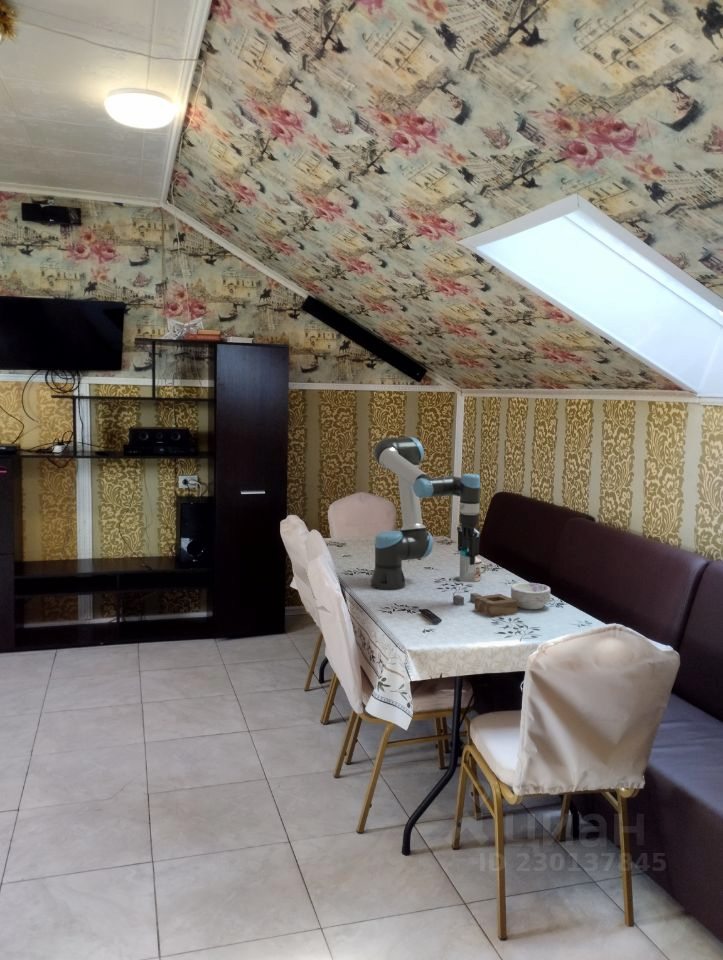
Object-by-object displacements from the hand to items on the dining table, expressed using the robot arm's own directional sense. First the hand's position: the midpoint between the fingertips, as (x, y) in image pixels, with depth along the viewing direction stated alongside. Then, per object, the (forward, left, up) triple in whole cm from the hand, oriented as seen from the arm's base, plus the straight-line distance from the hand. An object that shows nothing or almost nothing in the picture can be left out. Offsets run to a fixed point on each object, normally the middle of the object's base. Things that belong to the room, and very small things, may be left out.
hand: (467, 571), depth 302 cm
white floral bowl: (+15, +20, -13) cm, 28 cm away
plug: (0, 0, -4) cm, 4 cm away
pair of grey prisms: (0, 0, -13) cm, 13 cm away
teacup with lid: (-31, +25, -13) cm, 42 cm away
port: (+15, +3, -13) cm, 20 cm away
